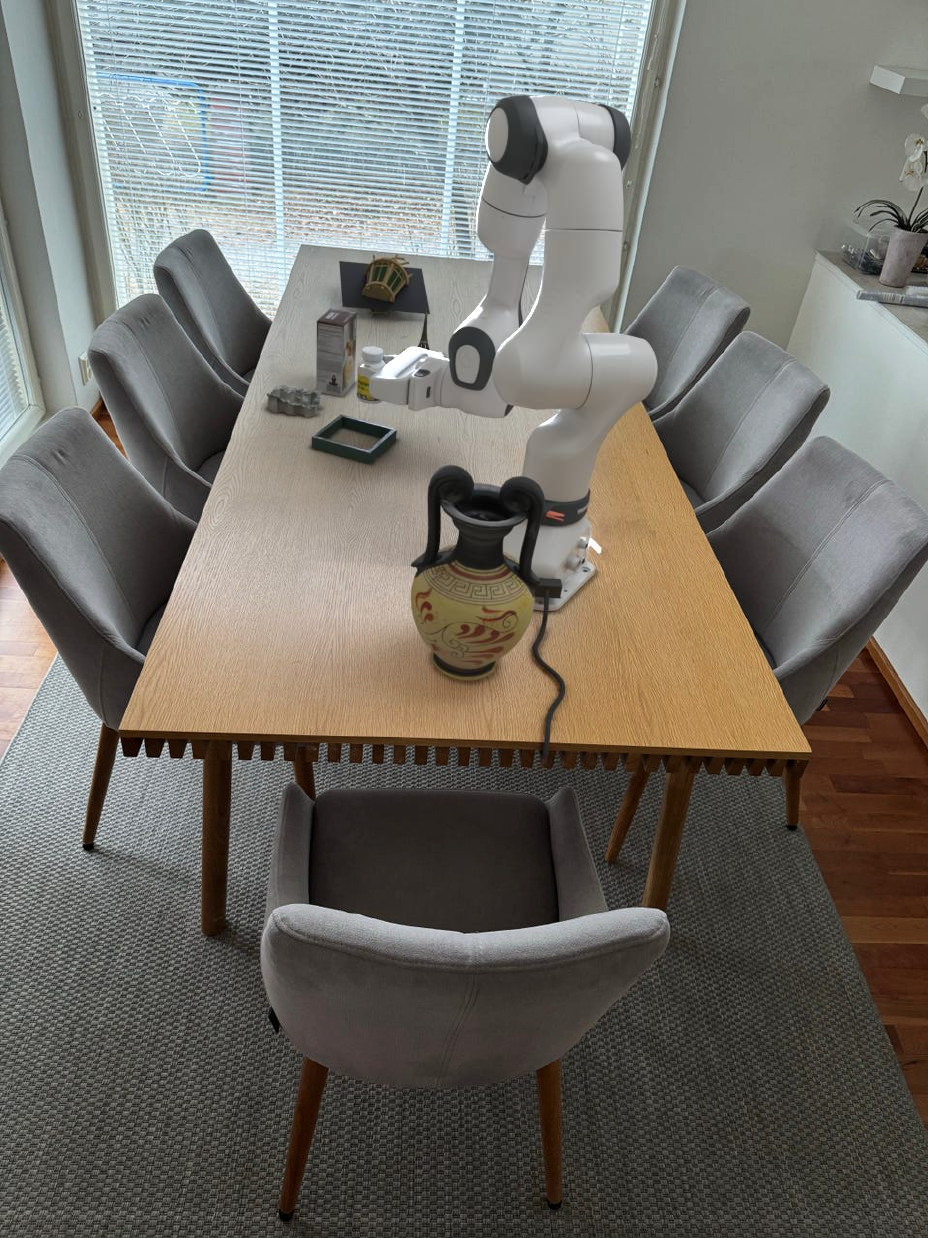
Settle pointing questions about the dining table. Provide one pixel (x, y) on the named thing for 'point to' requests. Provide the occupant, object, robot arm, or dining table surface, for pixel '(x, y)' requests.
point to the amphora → (476, 572)
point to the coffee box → (336, 351)
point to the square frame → (351, 452)
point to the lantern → (383, 286)
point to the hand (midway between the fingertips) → (367, 364)
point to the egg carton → (294, 401)
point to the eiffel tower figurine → (425, 337)
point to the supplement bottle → (373, 359)
